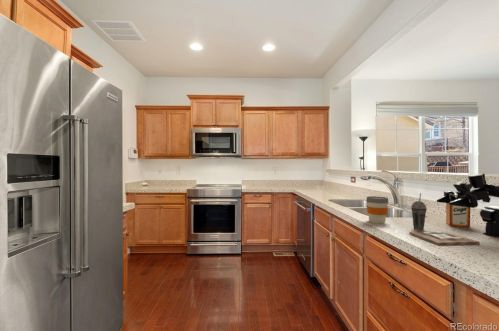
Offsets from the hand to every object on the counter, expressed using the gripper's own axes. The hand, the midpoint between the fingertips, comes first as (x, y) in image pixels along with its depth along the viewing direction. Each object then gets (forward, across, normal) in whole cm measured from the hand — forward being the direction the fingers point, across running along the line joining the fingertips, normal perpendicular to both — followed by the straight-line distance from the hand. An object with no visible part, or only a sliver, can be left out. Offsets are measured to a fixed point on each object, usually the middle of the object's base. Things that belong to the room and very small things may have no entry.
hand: (442, 202), depth 132 cm
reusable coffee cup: (+24, -28, +11) cm, 39 cm away
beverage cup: (+10, -10, +15) cm, 20 cm away
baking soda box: (-18, -21, +22) cm, 35 cm away
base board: (+10, +8, +14) cm, 19 cm away
